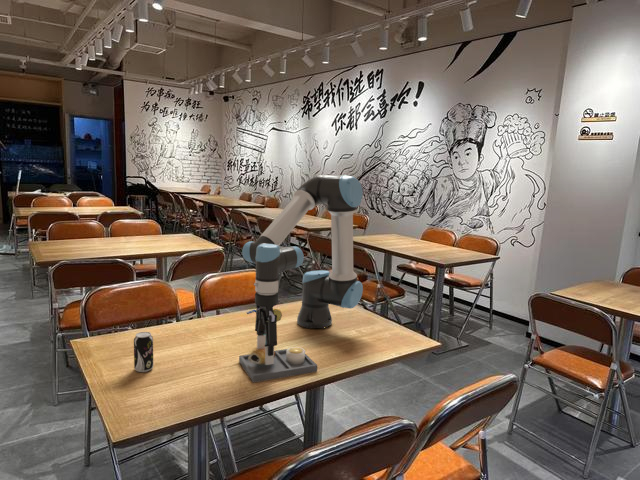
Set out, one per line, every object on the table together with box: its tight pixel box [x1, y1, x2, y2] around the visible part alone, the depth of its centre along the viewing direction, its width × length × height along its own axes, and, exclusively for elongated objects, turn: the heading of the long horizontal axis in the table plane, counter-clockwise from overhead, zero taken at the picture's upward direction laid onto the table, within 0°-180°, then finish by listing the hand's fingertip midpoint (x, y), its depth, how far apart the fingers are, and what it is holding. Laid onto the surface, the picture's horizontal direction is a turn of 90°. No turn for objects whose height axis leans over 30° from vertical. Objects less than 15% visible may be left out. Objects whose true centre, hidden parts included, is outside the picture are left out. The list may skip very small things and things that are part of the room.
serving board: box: [238, 346, 318, 383], centre depth 149 cm, size 16×22×5 cm
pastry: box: [248, 348, 276, 365], centre depth 146 cm, size 9×7×4 cm
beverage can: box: [133, 331, 154, 373], centre depth 142 cm, size 6×6×12 cm
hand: (265, 358), depth 146 cm, fingers closed on pastry, 8 cm apart
